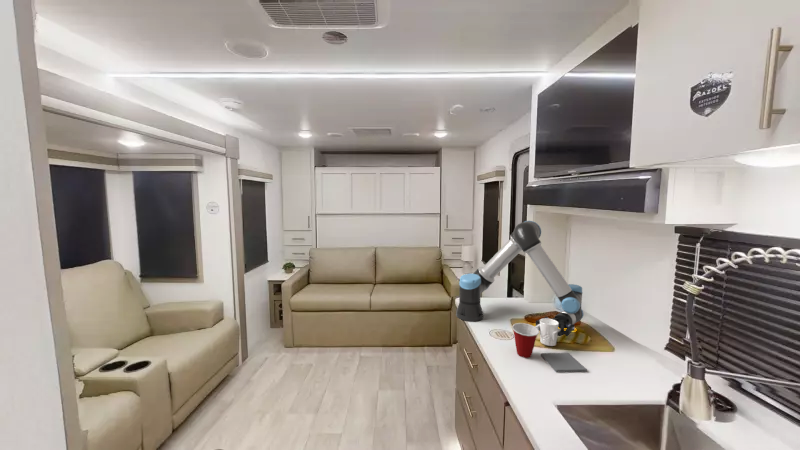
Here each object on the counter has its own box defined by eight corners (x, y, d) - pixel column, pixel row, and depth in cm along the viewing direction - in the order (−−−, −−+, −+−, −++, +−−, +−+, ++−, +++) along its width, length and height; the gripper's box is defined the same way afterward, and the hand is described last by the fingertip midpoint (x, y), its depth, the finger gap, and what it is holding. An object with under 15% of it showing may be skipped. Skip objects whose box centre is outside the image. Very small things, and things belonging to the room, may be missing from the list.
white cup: (547, 347, 139) (548, 326, 138) (534, 339, 147) (535, 319, 146) (561, 345, 141) (562, 324, 140) (548, 337, 149) (549, 317, 148)
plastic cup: (520, 362, 128) (521, 334, 127) (506, 350, 139) (507, 324, 138) (543, 360, 130) (544, 332, 129) (528, 347, 141) (529, 322, 140)
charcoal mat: (540, 355, 134) (540, 353, 134) (568, 355, 134) (568, 352, 134) (556, 372, 121) (556, 369, 121) (586, 371, 122) (587, 369, 121)
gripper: (544, 306, 162) (522, 318, 147) (588, 318, 147) (568, 332, 132) (543, 320, 163) (521, 333, 148) (587, 334, 148) (567, 349, 133)
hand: (543, 332), depth 140 cm, fingers closed on white cup, 8 cm apart
